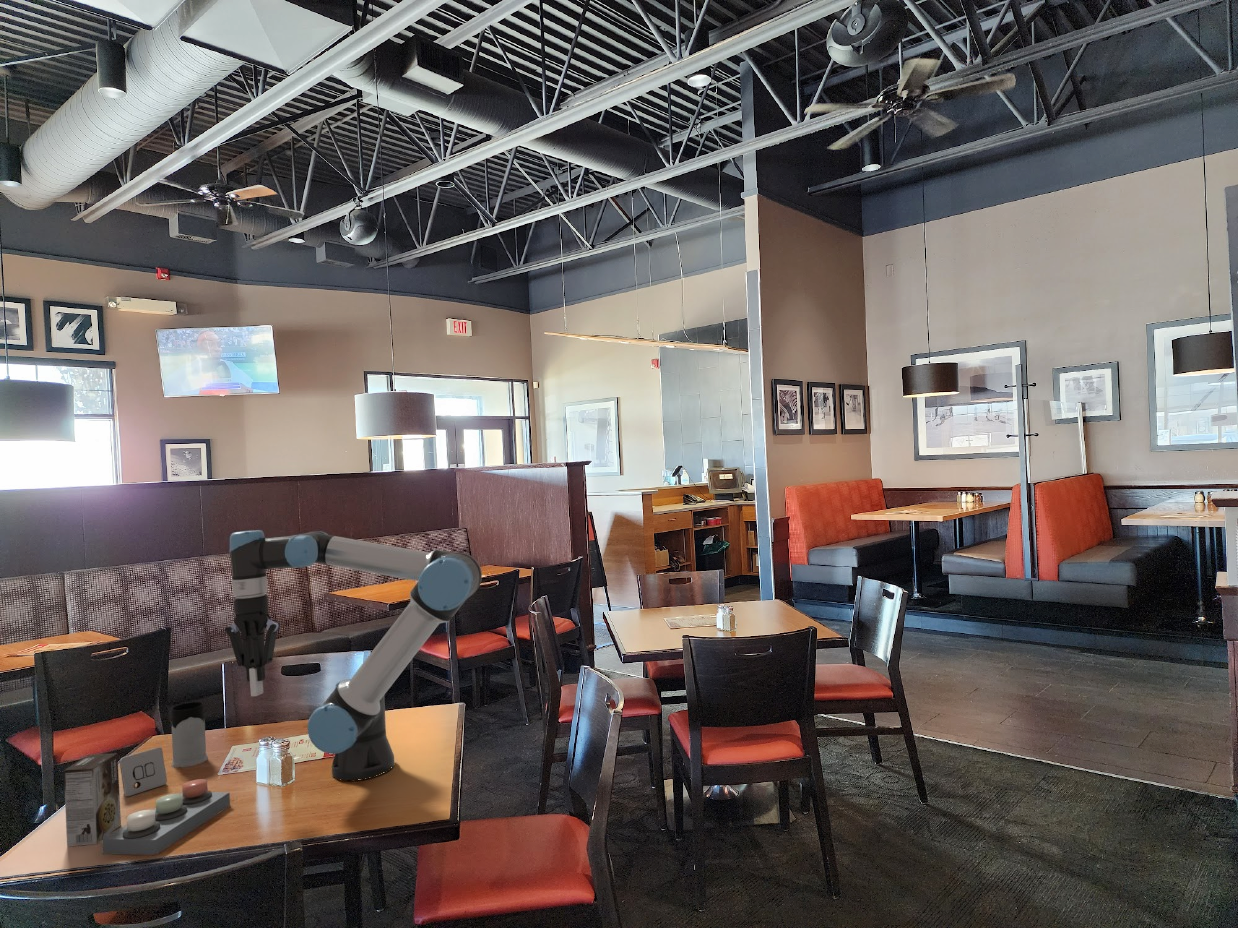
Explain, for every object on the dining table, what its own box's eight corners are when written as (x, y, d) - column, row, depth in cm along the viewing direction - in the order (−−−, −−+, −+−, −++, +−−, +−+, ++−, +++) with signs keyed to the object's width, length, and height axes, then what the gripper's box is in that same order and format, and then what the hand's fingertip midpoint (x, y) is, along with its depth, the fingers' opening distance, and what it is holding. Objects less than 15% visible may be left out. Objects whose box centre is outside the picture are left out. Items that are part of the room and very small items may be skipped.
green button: (188, 803, 168) (187, 793, 168) (171, 813, 163) (171, 803, 163) (167, 803, 169) (167, 793, 169) (150, 813, 164) (150, 803, 164)
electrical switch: (125, 798, 184) (122, 758, 185) (118, 795, 187) (115, 756, 188) (168, 784, 192) (165, 747, 192) (159, 782, 195) (157, 745, 195)
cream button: (161, 820, 160) (160, 809, 160) (142, 831, 155) (142, 820, 155) (139, 819, 161) (139, 809, 161) (121, 830, 156) (120, 819, 156)
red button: (212, 788, 176) (212, 778, 176) (197, 797, 171) (197, 787, 171) (192, 788, 177) (192, 778, 177) (177, 797, 172) (176, 787, 172)
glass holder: (174, 770, 201) (171, 713, 202) (165, 756, 212) (163, 702, 213) (211, 760, 207) (208, 705, 207) (200, 748, 218) (198, 695, 218)
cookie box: (91, 827, 169) (88, 753, 169) (122, 824, 169) (119, 751, 169) (65, 847, 160) (62, 769, 160) (97, 844, 160) (94, 767, 160)
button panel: (230, 805, 177) (229, 789, 177) (155, 854, 154) (154, 837, 154) (183, 804, 178) (182, 789, 178) (102, 853, 156) (102, 836, 156)
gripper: (215, 599, 179) (221, 700, 179) (267, 596, 178) (274, 698, 178) (234, 594, 187) (241, 691, 186) (284, 591, 185) (291, 688, 185)
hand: (257, 694), depth 182 cm, fingers closed
